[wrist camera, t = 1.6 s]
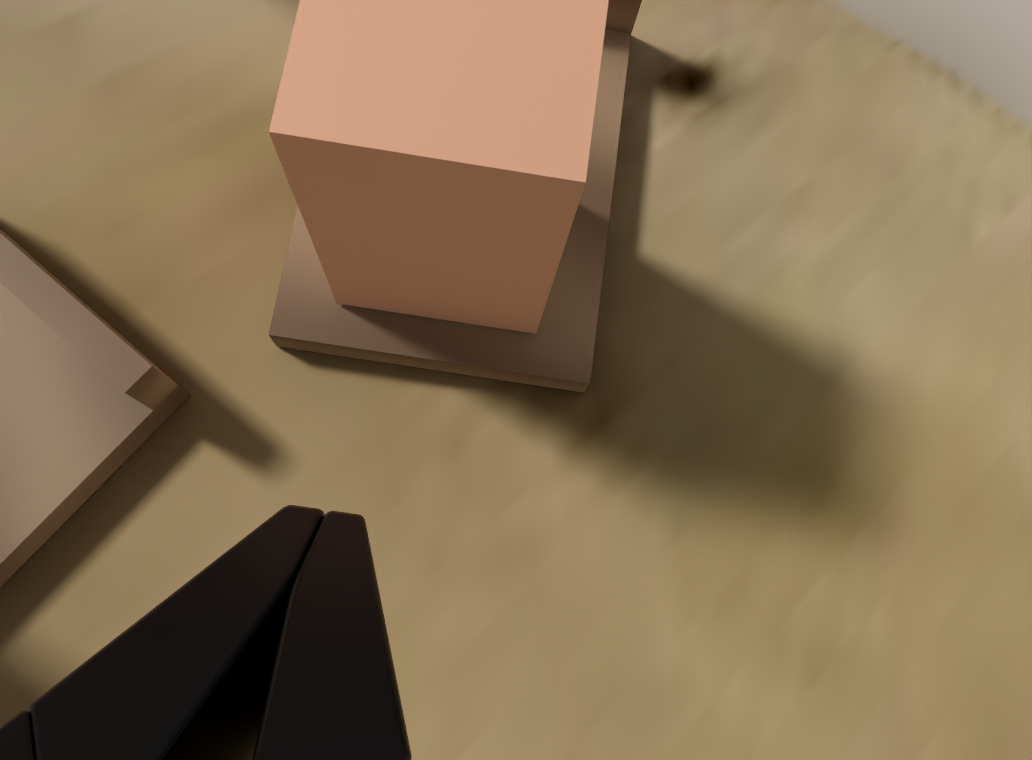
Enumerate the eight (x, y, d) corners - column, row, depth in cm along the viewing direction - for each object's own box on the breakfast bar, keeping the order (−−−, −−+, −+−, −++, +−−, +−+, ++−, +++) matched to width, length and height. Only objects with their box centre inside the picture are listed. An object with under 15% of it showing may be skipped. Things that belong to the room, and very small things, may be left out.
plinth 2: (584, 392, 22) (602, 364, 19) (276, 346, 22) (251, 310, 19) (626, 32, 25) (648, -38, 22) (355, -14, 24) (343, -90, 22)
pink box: (536, 333, 21) (585, 182, 13) (336, 303, 21) (268, 131, 13) (556, 182, 22) (613, -41, 14) (366, 152, 22) (321, -91, 14)
